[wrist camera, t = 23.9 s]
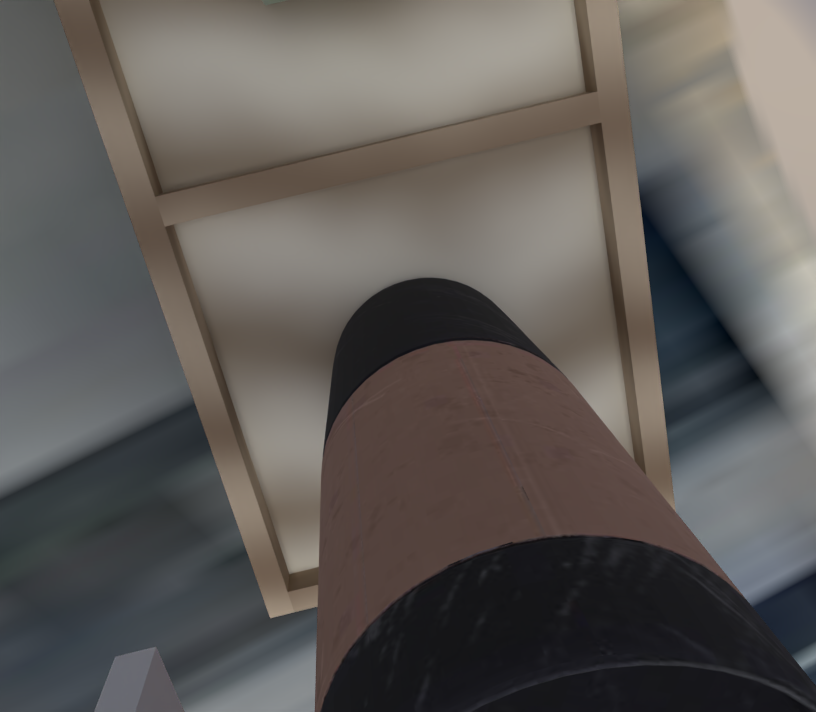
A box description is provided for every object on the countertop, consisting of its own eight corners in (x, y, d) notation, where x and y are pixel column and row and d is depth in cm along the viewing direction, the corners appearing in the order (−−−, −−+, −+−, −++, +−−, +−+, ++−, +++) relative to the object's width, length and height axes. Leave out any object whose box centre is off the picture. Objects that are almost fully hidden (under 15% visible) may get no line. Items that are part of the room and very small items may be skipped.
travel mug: (472, 231, 27) (795, 536, 8) (555, 401, 29) (953, 944, 10) (288, 329, 27) (176, 834, 8) (385, 488, 30) (467, 1153, 11)
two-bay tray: (-49, -362, 21) (-92, -414, 19) (531, -494, 21) (553, -560, 19) (274, 584, 32) (270, 617, 30) (654, 491, 32) (676, 517, 30)
